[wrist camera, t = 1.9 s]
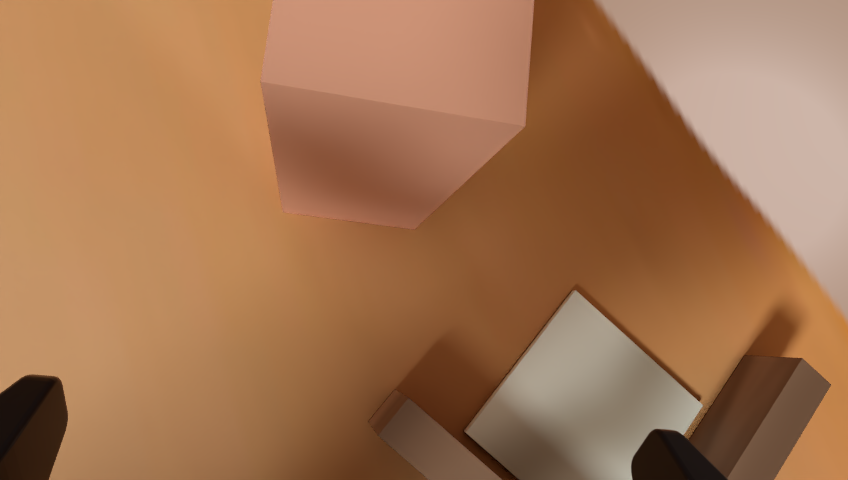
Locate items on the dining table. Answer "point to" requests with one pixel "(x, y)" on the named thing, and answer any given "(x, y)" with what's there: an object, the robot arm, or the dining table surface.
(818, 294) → the dining table surface
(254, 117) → the dining table surface
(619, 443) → the corner bracket
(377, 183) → the terracotta block
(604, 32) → the dining table surface
